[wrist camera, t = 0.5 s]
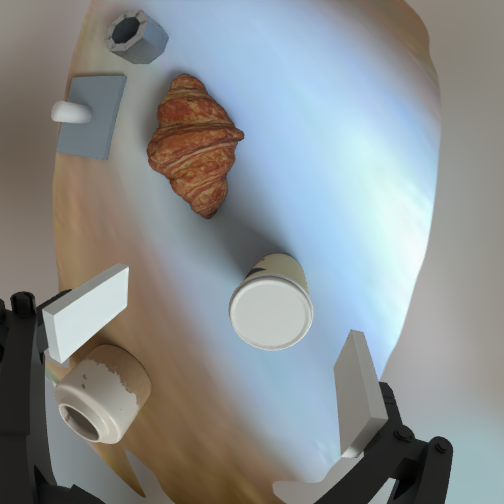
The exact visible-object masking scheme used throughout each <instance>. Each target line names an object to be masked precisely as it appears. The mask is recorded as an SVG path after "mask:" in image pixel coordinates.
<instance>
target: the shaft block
mask: <svg viewBox="0 0 504 504" xmlns="http://www.w3.org/2000/svg"><path fill="white" fill-rule="evenodd" d="M126 79H127V77H125V76H89V77H73V78H72V82H71V85H70V89H69V93H68V97H67V101H66V102H65V101H58V102H56V103H55V105H54V106H53V108H52V112H51V117H52V119H53V120H54V121H59V122H61V127H60V132H59V138H58V143H57V149H56V152H59V153H65V154H72V155H78V156H84V157H90V158H96V159H101V160H107V159H108V154H109V149H110V143H111V139H112V134H113V129H114V125H115V120H116V116H117V112H118V108H119V104H120V100H121V97H122V93H123V89H124V86H125V82H126Z"/></svg>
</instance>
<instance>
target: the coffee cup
mask: <svg viewBox="0 0 504 504" xmlns="http://www.w3.org/2000/svg"><path fill="white" fill-rule="evenodd" d="M229 318H230V321H231V324H232V326H233V328H234V330H235V331H236V333H237V334H238V335H239V337H240V338H241V339H243V340H244V341H245V342H246V343H248V344H250V345H251V346H254V347H256V348H259V349H263V350H281V349H285V348H288V347H290V346H292V345H294V344H295V343H297V342H298V341H299V340H301V339H302V338H303V337H304V336H305V335H306V333H307V332H308V330H309V328H310V326H311V323H312V320H313V306H312V302H311V299H310V296H309V291H308V287H307V282H306V278H305V274H304V271H303V269H302V267H301V265H300V264H299V263H298V262H297V261H296V260H295V259H294V258H292V257H291V256H288V255H285V254H280V253H275V254H270V255H267V256H265V257H263V258H261V259H260V260H259V261H258V262H257V263H256V264H255V266H254V267H253V268H252V270H251V271H250V272H249V274H248V275H247V276H246V278H245V279H244V280H243V282H242V283H241V284H240V285H239V286H238V287H237V288H236V290H235V291H234V293H233V294H232V297H231V299H230V303H229Z"/></svg>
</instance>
